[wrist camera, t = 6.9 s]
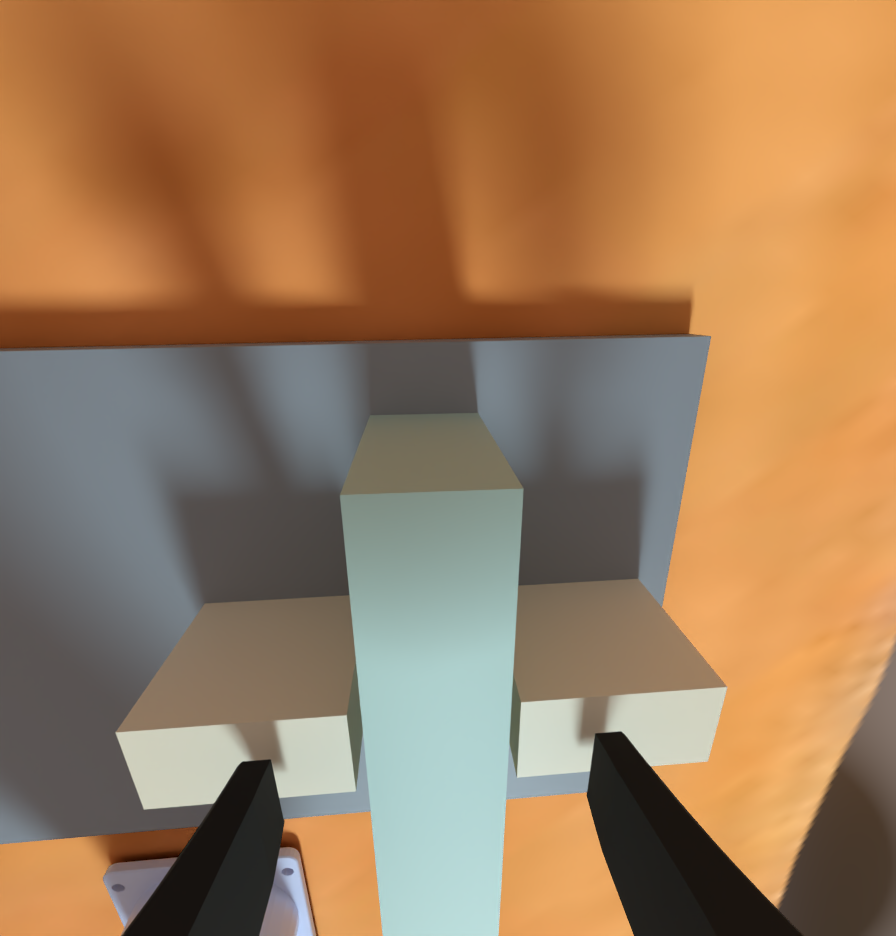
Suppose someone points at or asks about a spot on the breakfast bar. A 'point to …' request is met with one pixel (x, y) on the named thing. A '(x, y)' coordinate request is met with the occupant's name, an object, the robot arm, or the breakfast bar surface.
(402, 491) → the cross plate
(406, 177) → the breakfast bar surface
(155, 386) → the slotted base
